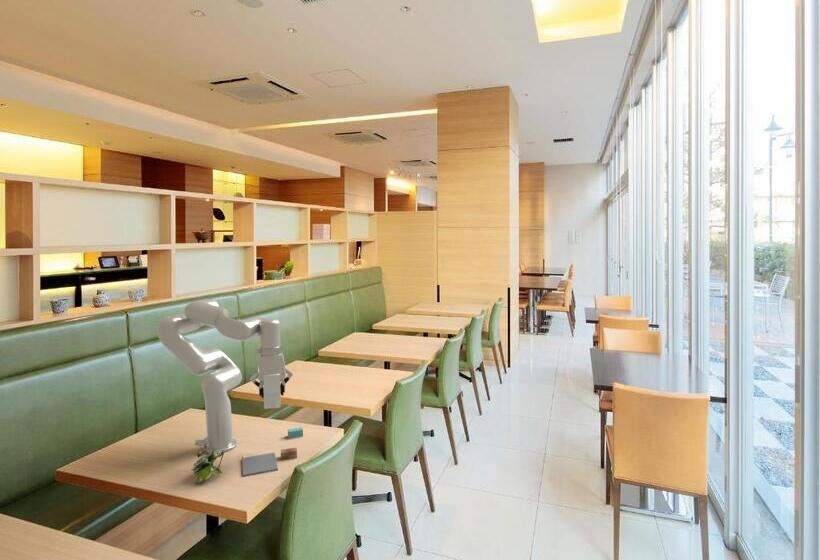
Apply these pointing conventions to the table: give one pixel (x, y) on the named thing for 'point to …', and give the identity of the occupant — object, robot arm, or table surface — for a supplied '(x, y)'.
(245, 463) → the charcoal mat
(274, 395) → the small box
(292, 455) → the walnut block
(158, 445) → the table surface
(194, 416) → the table surface
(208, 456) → the passion flower
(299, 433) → the teal block
